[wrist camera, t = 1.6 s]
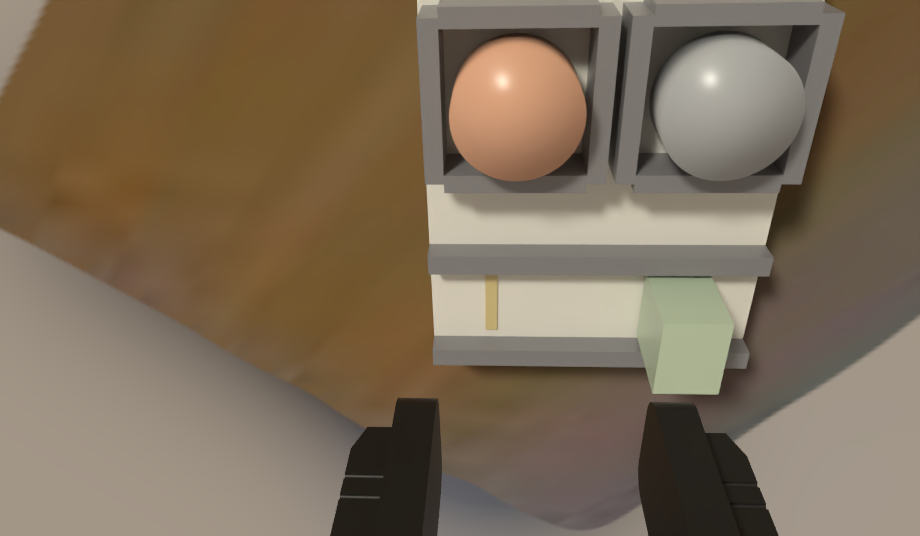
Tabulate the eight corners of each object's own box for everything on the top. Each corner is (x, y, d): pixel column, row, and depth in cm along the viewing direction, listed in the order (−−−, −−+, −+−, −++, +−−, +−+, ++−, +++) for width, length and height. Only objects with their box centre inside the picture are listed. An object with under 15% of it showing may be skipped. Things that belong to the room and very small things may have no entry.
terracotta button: (450, 33, 27) (446, 50, 25) (584, 32, 27) (591, 48, 25) (454, 157, 30) (450, 181, 28) (575, 157, 30) (581, 181, 28)
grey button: (658, 31, 27) (671, 47, 25) (796, 29, 27) (821, 45, 25) (642, 157, 30) (652, 181, 28) (767, 156, 29) (787, 181, 27)
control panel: (422, -50, 30) (408, -28, 25) (806, -56, 29) (863, -35, 24) (439, 327, 40) (432, 390, 36) (721, 329, 40) (750, 395, 35)
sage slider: (645, 269, 34) (663, 324, 30) (708, 270, 34) (734, 324, 30) (636, 335, 36) (652, 393, 32) (695, 336, 36) (718, 394, 32)
